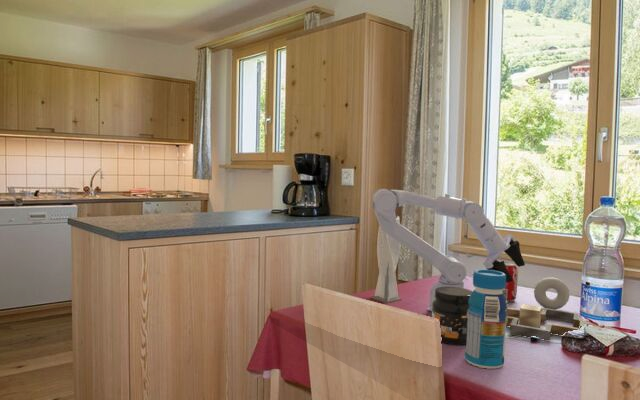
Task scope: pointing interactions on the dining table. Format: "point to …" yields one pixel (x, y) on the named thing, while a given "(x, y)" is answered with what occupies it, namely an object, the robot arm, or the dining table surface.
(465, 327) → the supplement container
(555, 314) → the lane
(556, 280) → the donut
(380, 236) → the skyscraper
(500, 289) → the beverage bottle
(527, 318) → the block
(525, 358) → the dining table surface
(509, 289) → the soda can
